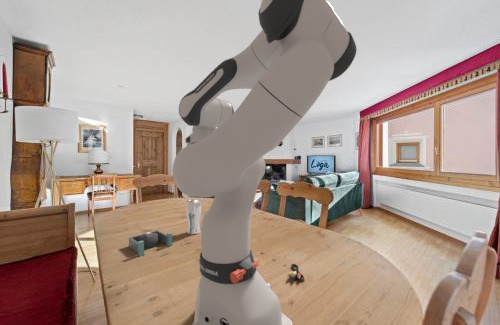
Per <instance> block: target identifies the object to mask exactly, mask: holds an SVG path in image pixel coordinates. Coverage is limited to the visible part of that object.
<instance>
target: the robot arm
mask: <svg viewBox="0 0 500 325" xmlns="http://www.w3.org/2000/svg"><path fill="white" fill-rule="evenodd" d="M258 21H259V26H260V27H261V29H262V30H261V31H260V33H258V34H257V35H256V37H255V38H254V39H253V41H252V42H251V43H250V44H249V45H248V46H247V47H246V48H245V49H244V50H241V52H240V53H238V54H236V55H235V56H232V57H230V58H228V59H225V60H224V61H222V62H220V64H218V65H217V66H216V67H215V68H213V70H211V71H210V73H209V74H208V75H207V76H206V77H205V78H203V79H202V81H201V82H200V83H199V84H198V85H197V86H196V87H195V88H194V89H192V90H191V91H189V92H188V93H186V94H185V95H184V96H183V97H182V98H181V100H180V101H179V104H178V114H179V117H180V119H181V120H182V121H183V122H184V123H185V124H186V125H187V126H191V127H192V131H191V133H190V134H189V135H188V136H187V137H186V138H185V141H184V142H185V144H186V145H185V147H183V148H181V149H180V150H179V151H178V153H177V154H176V156H175V158H174V160H173V165H172V179H173V181H174V183H175V186H176V187H177V188H178V190H179V191H180V192H181V193H182V194H184V195H185V196H187V197H193V198H212V197H213V201H212V203H211V205H210V207H209V209H208V210H206V212H205V214H204V215H203V217H202V220H201V252H200V254H199V260H198V264H199V272H200V279H199V282H198V286H197V289H196V295H195V308H194V320H193V322H192V324H191V325H293V321H292V320H291V319H290V318H289V317H288V316H287V315H286V314H284V313H283V312H282V309H281V302H280V300H279V297H278V295H277V294H276V293H275V292H274V290H273V288H272V285H271V284H270V283H269V282H266V280H265V279H264V278H263V277H262V275H261V274H260V273H259V272H258V271H257V267H258V266H260V261H261V260H260V259H257V260H256V261H255V258H254V255H253V251H252V250H251V222H252V221H251V219H252V212H253V209H254V208H253V207H254V203H255V199H256V194H257V191H258V187H259V184H260V182H261V180H262V179H263V177H264V175H265V173H266V161H265V158H264V156H265V155H266V154H268V153H270V152H271V151H273V150H275V149H276V148H277V147H278V146H279V145H280V144H281V143H282V142H283V141H284V139H285V138H286V137H287V136H288V135H289V134H290V132H291V131H292V130H293V129H294V128H295V127H296V125H298V123H299V122H300V121H301V120H302V118H303V117H305V115H306V114H307V113H308V111H310V109H311V108H312V107H313V105H314V104H315V103H316V101H317V100H318V98H319V97H320V96H321V94H322V93H323V91H324V89H325V88H326V86H327V85H328V83H329V82H330V81H333V80H335V79H337V78H339V77H340V76H342V75H343V74H344V73H345V72H346V71H347V70H348V69H349V68H350V66H351V65H352V63H353V61H354V59H355V58H356V55H357V45H356V42H355V39H354V37H353V35H352V34H351V32H350V31H348V30H347V29H346V28H347V27H346V26H345V25H344V24H343V22H342V20H341V19H340V17H339V16H338V14H337V13H336V12H335V11H334V7H333V6H332V5H331V3H330V2H329V1H328V0H261V3H260V7H259V9H258ZM240 89H241V90H243V89H247V90H250V91H249V93H248V94H246V95H247V96H246V97H245V98H244V99H243V100H242V102H241V103H240V105H239V106H238V107H237V109H236V110H235V111H234V107H233V105H232V103H231V102H230V101H227V100H225V99H221V98H218V97H219V96H220V95H221V94H223V93H224V92H227V91H230V90H240Z"/></svg>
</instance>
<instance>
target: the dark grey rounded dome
mask: <svg viewBox="0 0 500 325" xmlns="http://www.w3.org/2000/svg"><path fill="white" fill-rule="evenodd" d="M151 232H152V231H147V232H146V231H145V232H144V233H142V235H141V234H139V235H140V236H139V241H144V250H149V249H152V248H155V247H157V246H158V245H159V240H158V234H157V233H151Z"/></svg>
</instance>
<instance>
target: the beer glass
mask: <svg viewBox="0 0 500 325" xmlns="http://www.w3.org/2000/svg"><path fill="white" fill-rule="evenodd" d="M201 201H202V200H200V199H189V200H187V201H186V206H185V211H186V212H185V213H186V214H185V215H186V219H187V232H186V233H187V234H188V235H198V234H200V233H202V229H201V227H200V226H201V225H200V223H201V216H202V202H201Z"/></svg>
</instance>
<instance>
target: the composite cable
mask: <svg viewBox="0 0 500 325" xmlns="http://www.w3.org/2000/svg"><path fill="white" fill-rule="evenodd" d="M290 268H291V269H292V271H289V272H288V273H287V278H288V279H289V278H291V277H292V278H291V279H292V281H293V282H294V281H296V279H297V280H298V282H304V281H305V276H304V275H303V274H302V273H300V271H299V269H300V267H299V265H297V264H295V263H292V264H291V266H290Z"/></svg>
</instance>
